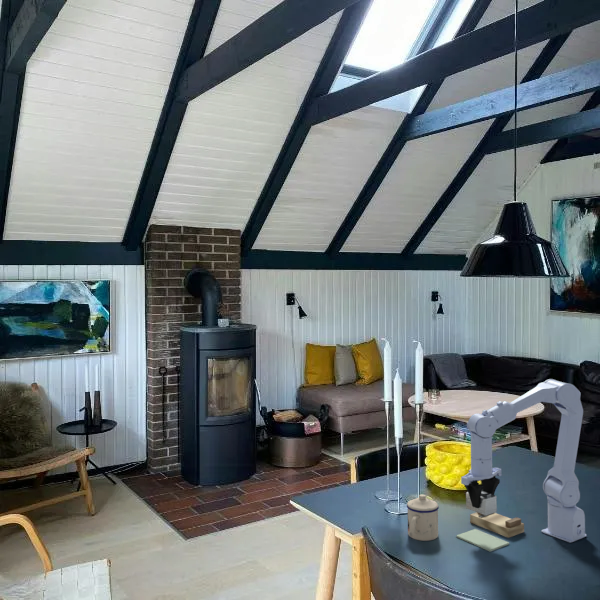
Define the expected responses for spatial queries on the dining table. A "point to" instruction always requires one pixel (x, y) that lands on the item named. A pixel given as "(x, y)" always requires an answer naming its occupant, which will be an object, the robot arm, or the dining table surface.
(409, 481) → the dining table surface
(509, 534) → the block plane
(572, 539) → the robot arm
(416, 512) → the teacup with lid
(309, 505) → the dining table surface
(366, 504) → the dining table surface
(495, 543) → the mat
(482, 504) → the pale grey box
